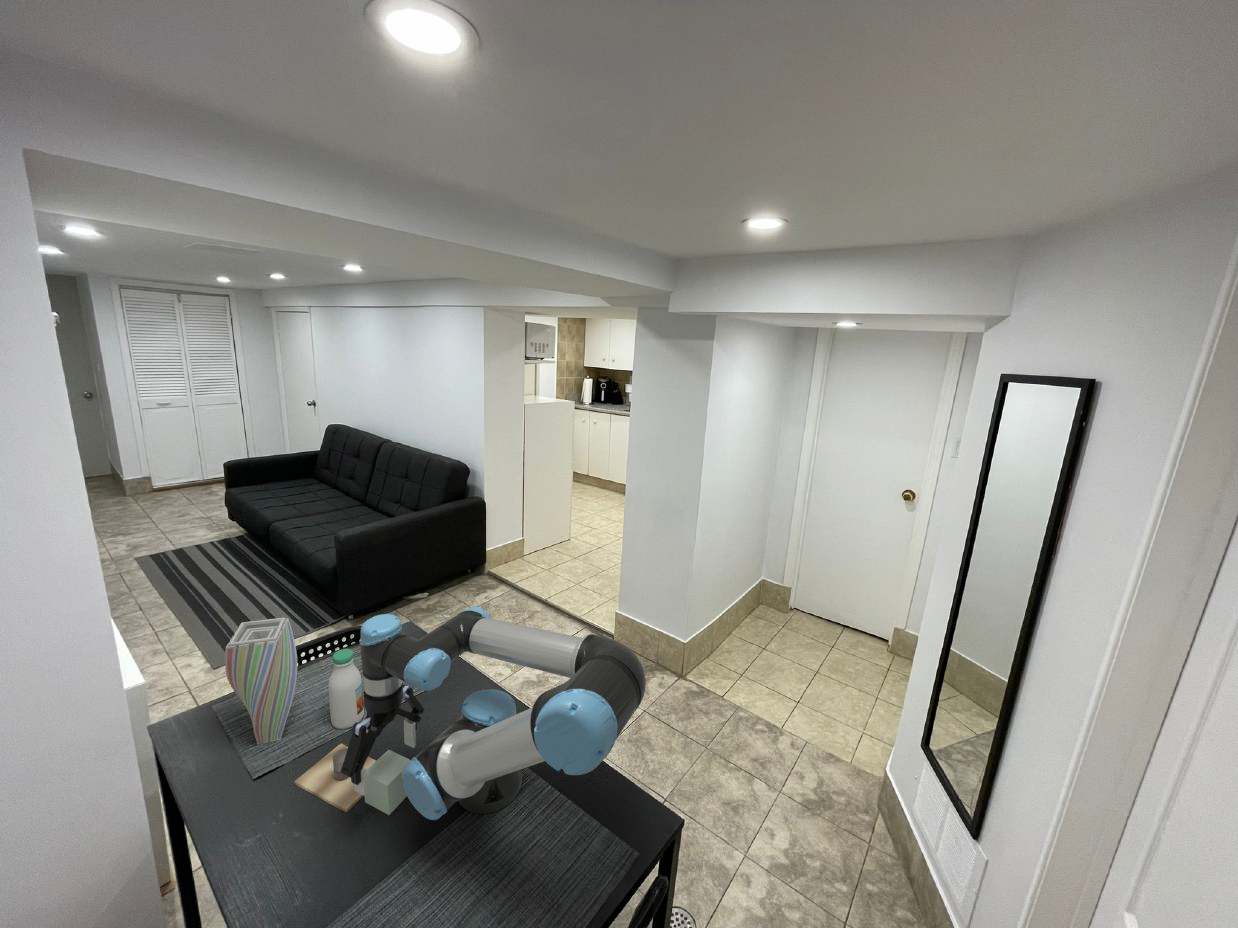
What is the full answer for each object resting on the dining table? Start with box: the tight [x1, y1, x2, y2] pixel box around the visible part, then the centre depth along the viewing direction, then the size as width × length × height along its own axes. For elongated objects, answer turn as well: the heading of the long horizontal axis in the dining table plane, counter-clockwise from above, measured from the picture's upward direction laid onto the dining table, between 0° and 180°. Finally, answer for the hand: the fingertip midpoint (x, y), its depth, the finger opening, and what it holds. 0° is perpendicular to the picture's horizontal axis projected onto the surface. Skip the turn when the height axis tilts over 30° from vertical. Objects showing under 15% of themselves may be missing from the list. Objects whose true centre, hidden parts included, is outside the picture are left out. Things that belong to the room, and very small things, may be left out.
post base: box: [293, 743, 377, 814], centre depth 114 cm, size 16×12×6 cm
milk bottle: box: [328, 648, 365, 730], centre depth 129 cm, size 8×8×20 cm
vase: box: [224, 617, 298, 745], centre depth 121 cm, size 14×14×30 cm
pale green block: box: [364, 749, 412, 816], centre depth 110 cm, size 7×7×8 cm
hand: (386, 766), depth 109 cm, fingers open, 13 cm apart
